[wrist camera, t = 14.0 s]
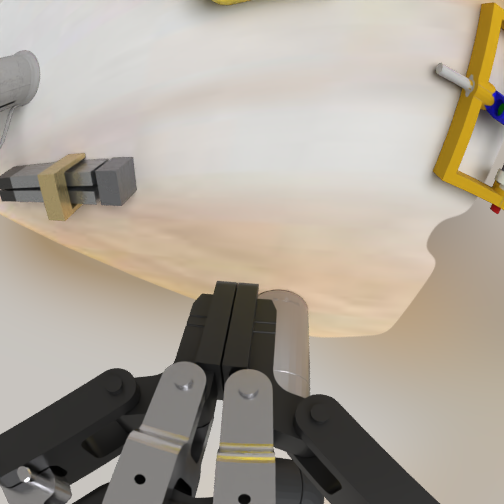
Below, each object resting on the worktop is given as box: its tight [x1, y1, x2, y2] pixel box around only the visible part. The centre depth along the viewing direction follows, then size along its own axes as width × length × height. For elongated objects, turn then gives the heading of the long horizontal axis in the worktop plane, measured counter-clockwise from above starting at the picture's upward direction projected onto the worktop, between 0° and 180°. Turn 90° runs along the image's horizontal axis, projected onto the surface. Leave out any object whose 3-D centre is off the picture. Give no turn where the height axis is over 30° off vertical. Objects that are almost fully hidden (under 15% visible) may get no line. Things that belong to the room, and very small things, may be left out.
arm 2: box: [0, 182, 101, 205], centre depth 36 cm, size 20×2×4 cm, turn 87°
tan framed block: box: [37, 153, 85, 221], centre depth 34 cm, size 3×6×7 cm, turn 177°
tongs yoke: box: [95, 157, 137, 206], centre depth 35 cm, size 3×5×5 cm, turn 177°
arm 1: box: [0, 159, 108, 189], centre depth 35 cm, size 20×2×4 cm, turn 88°
